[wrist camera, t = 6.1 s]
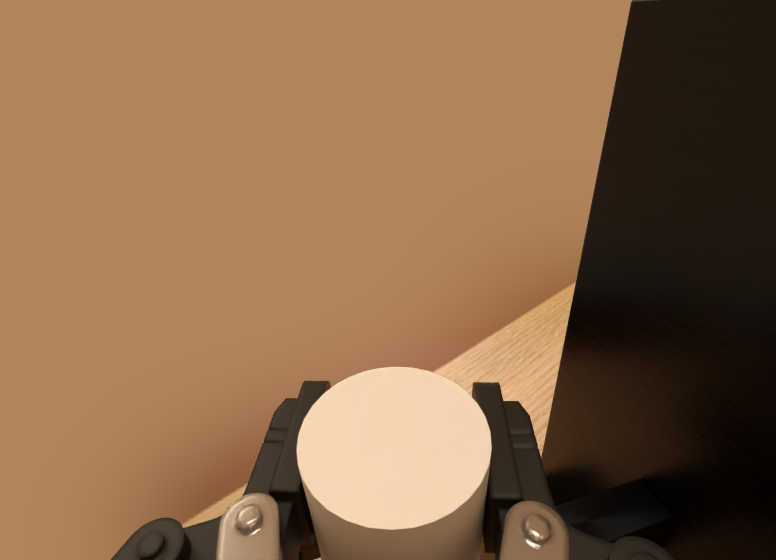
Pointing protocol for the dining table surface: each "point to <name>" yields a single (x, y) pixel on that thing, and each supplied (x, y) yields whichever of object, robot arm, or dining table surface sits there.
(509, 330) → the dining table surface
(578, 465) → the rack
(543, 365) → the dining table surface
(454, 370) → the dining table surface
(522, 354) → the dining table surface
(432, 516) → the tube
